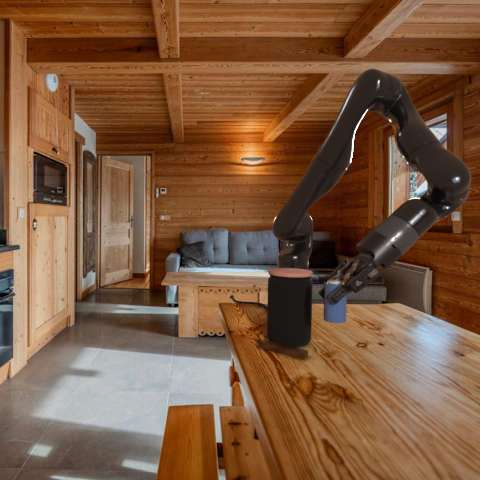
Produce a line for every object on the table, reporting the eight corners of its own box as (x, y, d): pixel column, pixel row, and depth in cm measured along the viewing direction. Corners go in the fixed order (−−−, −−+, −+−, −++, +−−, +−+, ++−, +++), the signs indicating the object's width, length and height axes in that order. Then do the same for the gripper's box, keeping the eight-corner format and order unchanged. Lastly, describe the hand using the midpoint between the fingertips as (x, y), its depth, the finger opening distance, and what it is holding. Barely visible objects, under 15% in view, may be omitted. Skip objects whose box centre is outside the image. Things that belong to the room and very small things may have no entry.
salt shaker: (320, 320, 82) (321, 280, 81) (328, 316, 85) (329, 278, 85) (341, 324, 79) (342, 283, 78) (349, 320, 82) (350, 280, 82)
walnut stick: (258, 347, 93) (259, 341, 93) (264, 345, 95) (264, 339, 95) (303, 359, 85) (303, 352, 85) (308, 356, 87) (308, 350, 87)
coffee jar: (312, 338, 101) (314, 269, 100) (309, 350, 91) (311, 274, 90) (270, 332, 105) (271, 266, 104) (263, 344, 95) (264, 271, 94)
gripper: (359, 228, 87) (303, 281, 89) (392, 230, 73) (324, 293, 75) (382, 252, 87) (326, 304, 89) (420, 258, 73) (352, 320, 75)
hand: (326, 298), depth 82 cm, fingers closed on salt shaker, 4 cm apart
